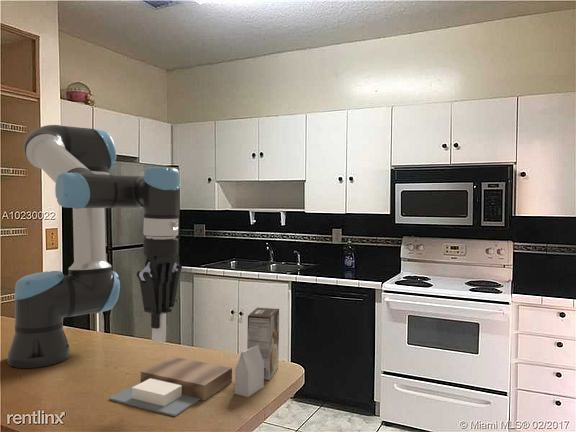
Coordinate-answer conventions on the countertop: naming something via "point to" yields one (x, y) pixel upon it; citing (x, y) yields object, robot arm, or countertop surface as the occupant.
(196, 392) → the brown flat block
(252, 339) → the coffee box
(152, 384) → the tile
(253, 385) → the tea bag
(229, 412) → the countertop surface
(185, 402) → the mat
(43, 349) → the robot arm
